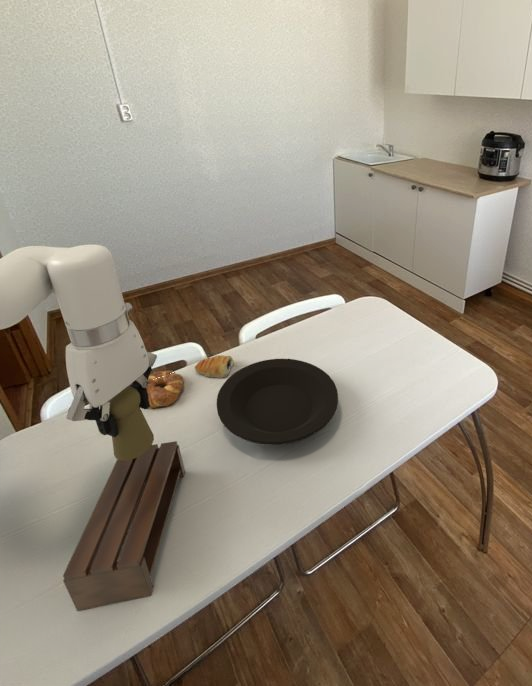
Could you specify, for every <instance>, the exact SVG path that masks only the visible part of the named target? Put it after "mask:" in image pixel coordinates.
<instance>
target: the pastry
mask: <svg viewBox="0 0 532 686" xmlns="http://www.w3.org/2000/svg"><path fill="white" fill-rule="evenodd" d="M233 366H234V359H233V357H232V356H231V355H223V354H221V355H220V354H218V356H217V355H215V356H213V357H212V356H211V357H207V358H204V359H201V360H199V361H198V362H197V363H196V364H195V366H194V370H195V371H196V373H197V374H199V375H202V374H203V375H202V376H205V377H206V376H207V377H206V378H214V377H215V378H218V379H222V378H225V377H228V376H229V374H230V371H231V368H232V367H233Z"/></svg>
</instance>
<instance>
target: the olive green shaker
mask: <svg viewBox="0 0 532 686" xmlns="http://www.w3.org/2000/svg"><path fill="white" fill-rule="evenodd" d="M139 404H140V394H139V392H138V391H137V389H135V388H133V387H129V386H127V387H126V388H125V389H123V390H122V391H121V392H120V393H118V394H117V395H116V396H114V397H113V398H112V399H110V411H109V414H111V415H113V416H114V418H115V421H116V424H117V427H118V431H119V433H118V435H117V436H116V437H112V436H111V439H112V450H113V456H114V458H115V459H116V460H117V459H118V460H122V461H127V460H132V459H134V458H137V457H139V456H140V455H142V454H144V453H145V452H146V451H147V450H148V449H149V448H150V446H151V445H153V443H154V440H155V435H154V433H153V431H152V429H151V427H150V425H149V423H148V421H147V419H146V416H145V414H144V413H143V411H142V408H140V407H139Z"/></svg>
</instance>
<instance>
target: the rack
mask: <svg viewBox="0 0 532 686" xmlns="http://www.w3.org/2000/svg"><path fill="white" fill-rule="evenodd" d="M185 473H186V469H185V465H184V461H183V456H182V452H181V448H180V444H178V441H177V440H174V441H168V442H162V443H160V445H159V444H158V443H155V444H152V445H151V446H150V448H149V449H148V450H147V451H146V452H145V453H144V454H142V455H140V456H139V457H137V458H134V459H132V460H127V461H122V460H118V459H116V461H115V464H114V466H113V468H112V470H111V472H110V474H109V476H108V478H107V480H106V482H105V485H104V487H103V489H102V491H101V493H100V496H99V497H98V500H97V502H96V504H95V507H94V509H93V511H92V513H91V515H90V517H89V518H88V521H87V523H86V525H85V527H84V530H83V532H82V533H81V536H80V539H79V540H78V542H77V545H76V546H75V549H74V551H73V552H72V555H71V557H70V560H69V561H68V564H67V566H66V568H65V570H64V573H63V575H62V577H63V584H64V585H65V588H66V590H67V592H68V594H69V597H70V598H71V601H72V604H73V605H74V608H75V610H76V611H77V612H80V611H84V610H89V609H93V608H98V607H102V606H103V607H104V606H108V605H112V604H117V603H122V602H125V601H126V602H127V601H132V600H136V599H141V598H147V597H151V596H152V594H153V591H154V587H155V586H154V583H153V579H152V574H153V571H154V568H155V564H156V561H157V557H158V554H159V551H160V547H161V543H162V539H163V536H164V532H165V530H166V526H167V522H168V520H169V519H168V518H169V515H170V511H171V508H172V504H173V500H174V497H175V493H176V490H177V487H178V484H179V480H180V478H184V477H185Z"/></svg>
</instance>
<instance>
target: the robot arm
mask: <svg viewBox="0 0 532 686" xmlns="http://www.w3.org/2000/svg"><path fill="white" fill-rule="evenodd" d="M54 295H55V298H56V301H57V303H58V306H59V310H60V313H61V316H62V319H63V321H64V325H65V328H66V331H67V334H68V337H69V340H70V343H69V344H67V345H66V346H65V367H66V373H67V374H66V375H67V378H68V383H69V387H70V391H71V394H72V397H73V400H72V401H71V403H70V406H69V408H68V411H67V414H66V419H67V420H69V421H72V422H81V421H95V423H96V426H97V429H98V432H99V433H100V435H103V436H110V437H111V438H112V437H116V436H117V435H118V433H119V431H118V427H117V424H116V421H115V418H114V416H113V415H111V414H109V411H110V399H112V398H113V397H114V396H116V395H117V394H118V393H120V392H121V391H122V390H123V389H125V388H126V387H127V386H128V387H133V388H135V389H137V391H138V392H139V394H140V404H139V407H140V409H142V410H148V409H149V407H150V404H149V400H148V399H149V396H148V392H147V389H146V387H147V386H148V384H149V381H148V378H149V375H151V374H152V371H153V367H154V365H155V363H156V360H157V359H158V355H157V354H155V353H152V352H150V351H147V348H146V346H145V343H144V341H143V338H142V336H141V334H140V331H139V330H138V327H136V325H135V323H134V322H133V321H132V319H130V317H129V312H130V311H132V310H133V305H132V304H131V303H130V302H126V303H125V299H124V296H123V292H122V289H121V285H120V281H119V276H118V272H117V269H116V265H115V261H114V257H113V255H112V252H111V251H110V250H109V248H107V247H106V246H104V245H101V244H79V245H75V246H71V247H59V246H47V245H29V246H22V247H19V248H16V249H14V250H12V251H10V252H8V253H7V254H5V255H4V256H2V257H0V330H4V329H8V328H11V327H12V326H14V325H17V324H19V323H20V322H21V321H23V320H24V319H25V318H26V317H27V316H28V315H30V314H31V312H33V311H34V310H35V309H36V308H37V307H38V306H39V305H40V304H41V303H42V302H44V301H46V300H47V299H49V298H50V297H53V296H54ZM87 402H88V403H89V408H85V406H86V404H87Z"/></svg>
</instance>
